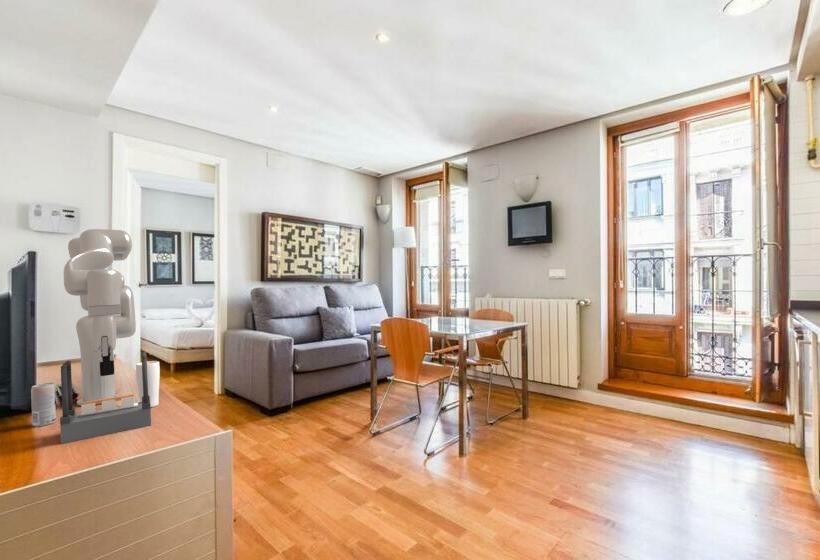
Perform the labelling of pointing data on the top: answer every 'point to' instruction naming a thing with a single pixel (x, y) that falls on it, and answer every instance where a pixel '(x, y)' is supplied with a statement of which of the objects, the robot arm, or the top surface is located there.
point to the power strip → (105, 423)
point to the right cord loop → (145, 383)
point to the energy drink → (43, 404)
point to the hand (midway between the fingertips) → (107, 374)
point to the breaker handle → (107, 405)
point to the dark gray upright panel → (66, 394)
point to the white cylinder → (149, 381)
